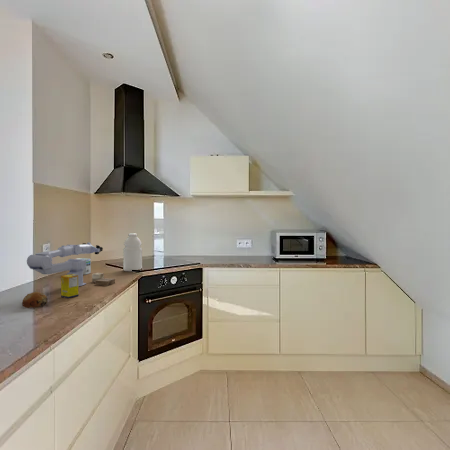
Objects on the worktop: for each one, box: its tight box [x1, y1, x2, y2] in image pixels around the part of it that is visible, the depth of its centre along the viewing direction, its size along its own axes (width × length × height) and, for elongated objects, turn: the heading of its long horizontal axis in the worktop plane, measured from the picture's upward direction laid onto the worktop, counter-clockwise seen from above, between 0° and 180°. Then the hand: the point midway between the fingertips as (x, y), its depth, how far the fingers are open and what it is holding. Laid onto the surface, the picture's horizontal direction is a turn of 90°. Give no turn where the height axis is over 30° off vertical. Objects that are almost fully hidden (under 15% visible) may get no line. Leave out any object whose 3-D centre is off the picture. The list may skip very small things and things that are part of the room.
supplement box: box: [60, 274, 79, 299], centre depth 166 cm, size 6×6×11 cm
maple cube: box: [91, 272, 105, 283], centre depth 205 cm, size 5×5×5 cm
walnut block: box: [95, 277, 116, 287], centre depth 197 cm, size 8×8×3 cm
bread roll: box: [21, 291, 49, 309], centre depth 150 cm, size 10×10×8 cm
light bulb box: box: [75, 257, 92, 275], centre depth 231 cm, size 11×7×11 cm, turn 84°
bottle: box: [122, 232, 143, 272], centre depth 249 cm, size 14×14×28 cm
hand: (97, 248), depth 211 cm, fingers open, 7 cm apart
